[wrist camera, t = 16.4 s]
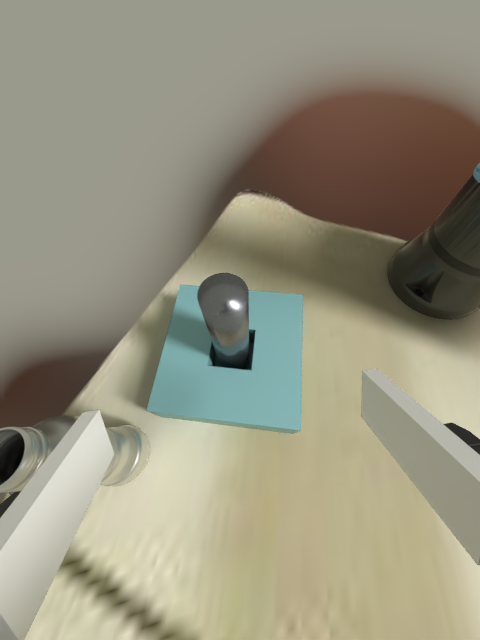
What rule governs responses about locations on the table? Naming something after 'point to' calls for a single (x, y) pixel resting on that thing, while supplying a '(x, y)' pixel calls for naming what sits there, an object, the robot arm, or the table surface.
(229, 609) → the table surface
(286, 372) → the socket block
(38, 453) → the plastic bottle
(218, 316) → the pin
